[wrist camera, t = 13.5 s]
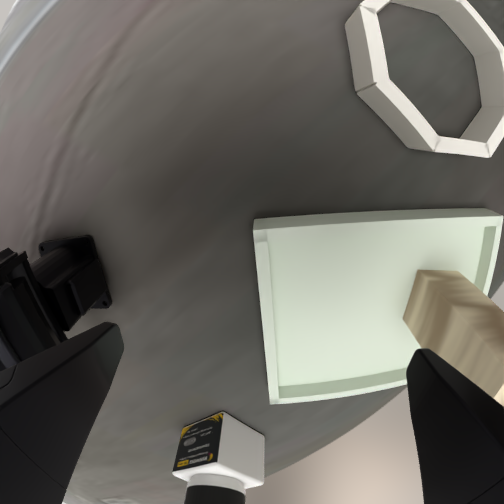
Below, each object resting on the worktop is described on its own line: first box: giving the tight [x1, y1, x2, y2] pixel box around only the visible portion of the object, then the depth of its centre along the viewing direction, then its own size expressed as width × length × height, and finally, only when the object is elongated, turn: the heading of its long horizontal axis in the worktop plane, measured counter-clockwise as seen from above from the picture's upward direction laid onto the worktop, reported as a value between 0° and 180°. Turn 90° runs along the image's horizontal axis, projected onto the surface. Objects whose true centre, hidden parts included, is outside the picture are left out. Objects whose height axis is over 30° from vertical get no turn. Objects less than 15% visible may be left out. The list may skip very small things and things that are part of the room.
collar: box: [344, 0, 504, 158], centre depth 13 cm, size 13×13×4 cm
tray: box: [253, 208, 503, 404], centre depth 20 cm, size 20×16×2 cm
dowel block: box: [402, 270, 504, 406], centre depth 14 cm, size 4×4×12 cm
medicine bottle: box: [173, 412, 265, 504], centre depth 23 cm, size 7×7×12 cm
